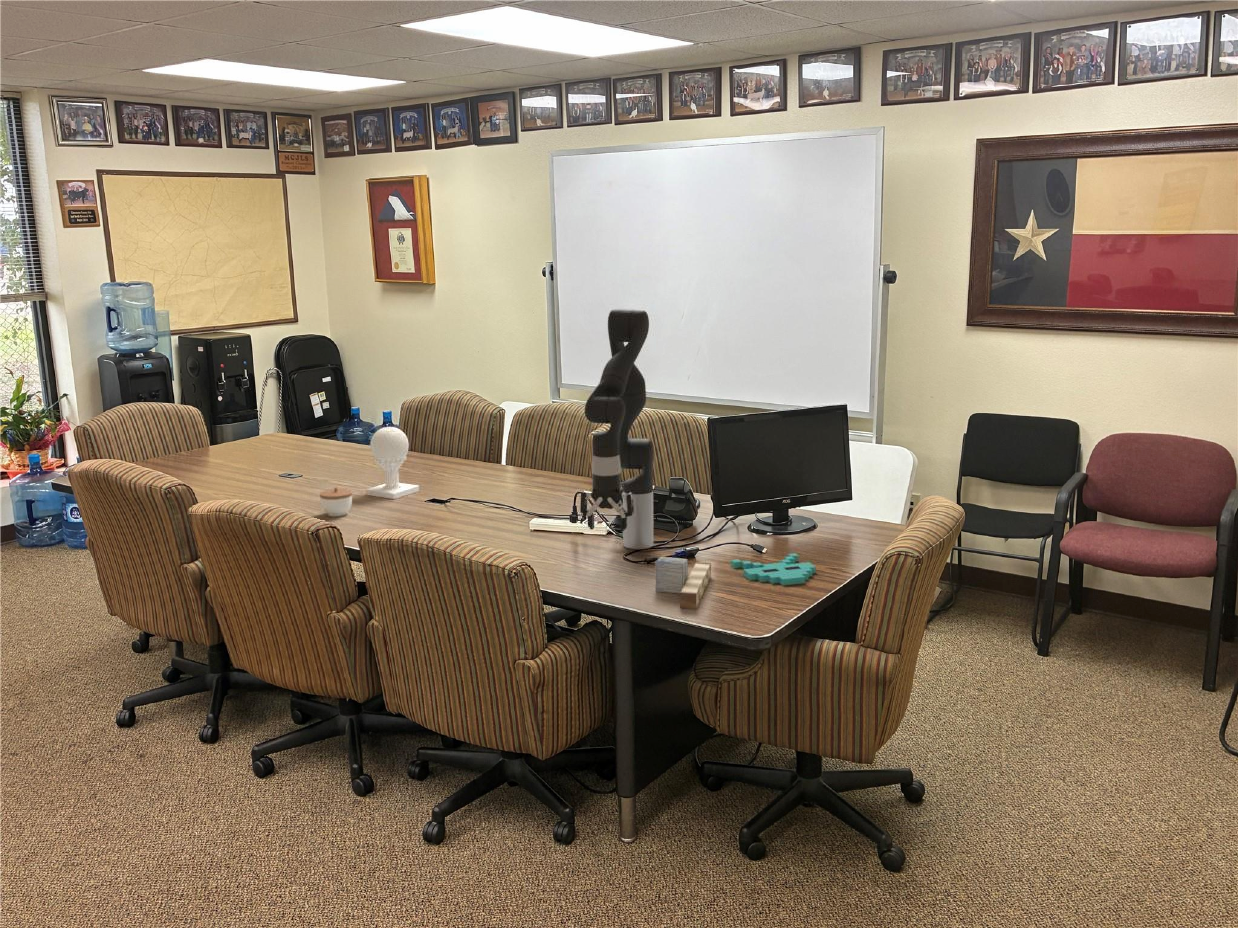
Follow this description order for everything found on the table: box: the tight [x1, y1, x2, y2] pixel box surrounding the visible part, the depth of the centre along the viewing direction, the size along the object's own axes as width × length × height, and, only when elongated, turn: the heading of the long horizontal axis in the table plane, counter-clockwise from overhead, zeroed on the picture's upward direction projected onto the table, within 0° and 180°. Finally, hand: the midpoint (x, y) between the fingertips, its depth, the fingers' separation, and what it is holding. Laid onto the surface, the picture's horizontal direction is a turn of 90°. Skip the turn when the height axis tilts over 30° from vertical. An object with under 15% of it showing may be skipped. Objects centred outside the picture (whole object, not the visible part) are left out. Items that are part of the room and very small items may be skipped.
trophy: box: [365, 426, 420, 500], centre depth 385 cm, size 14×14×25 cm
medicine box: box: [654, 556, 689, 595], centre depth 279 cm, size 8×4×9 cm, turn 72°
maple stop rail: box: [679, 561, 712, 610], centre depth 278 cm, size 26×4×4 cm, turn 167°
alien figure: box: [730, 552, 817, 587], centre depth 293 cm, size 20×2×20 cm
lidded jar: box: [319, 487, 353, 517], centre depth 359 cm, size 11×11×9 cm
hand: (607, 529), depth 281 cm, fingers open, 8 cm apart
